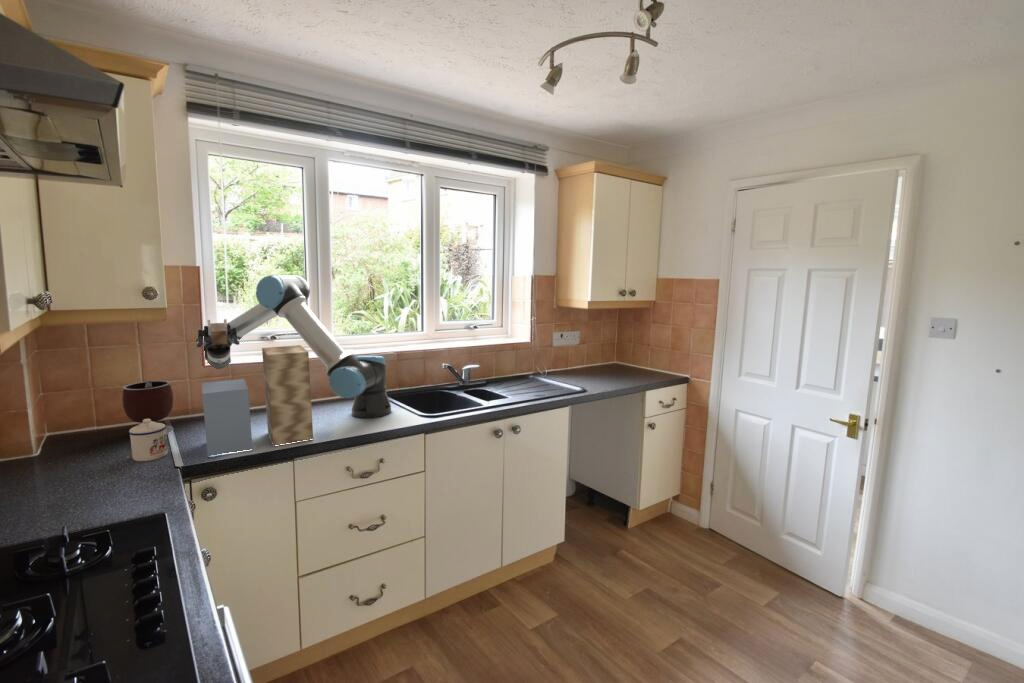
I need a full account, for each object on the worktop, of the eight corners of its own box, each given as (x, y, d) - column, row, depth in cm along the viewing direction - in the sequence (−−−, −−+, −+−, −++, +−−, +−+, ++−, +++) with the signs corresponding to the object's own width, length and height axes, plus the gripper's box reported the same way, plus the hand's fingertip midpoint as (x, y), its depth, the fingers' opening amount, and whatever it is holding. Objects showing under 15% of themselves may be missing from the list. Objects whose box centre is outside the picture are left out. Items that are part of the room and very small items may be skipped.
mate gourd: (124, 432, 171) (118, 376, 168) (172, 424, 180) (167, 370, 177) (129, 444, 160) (122, 384, 157) (180, 434, 169) (174, 377, 166)
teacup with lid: (155, 462, 145) (151, 424, 143) (124, 462, 145) (119, 424, 143) (181, 447, 157) (178, 412, 155) (152, 447, 157) (149, 412, 155)
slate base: (248, 436, 168) (244, 378, 165) (252, 450, 155) (248, 388, 152) (207, 442, 162) (202, 383, 159) (207, 458, 148) (202, 393, 145)
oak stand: (304, 427, 177) (300, 345, 173) (313, 440, 164) (308, 351, 160) (267, 433, 171) (262, 348, 167) (273, 447, 158) (267, 355, 153)
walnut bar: (224, 334, 172) (223, 322, 171) (227, 343, 150) (226, 330, 149) (211, 334, 170) (210, 323, 169) (212, 344, 148) (210, 331, 147)
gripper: (245, 356, 185) (247, 331, 167) (192, 361, 177) (187, 335, 158) (243, 338, 188) (245, 312, 169) (190, 341, 179) (185, 314, 160)
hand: (217, 323), depth 163 cm, fingers closed on walnut bar, 4 cm apart
